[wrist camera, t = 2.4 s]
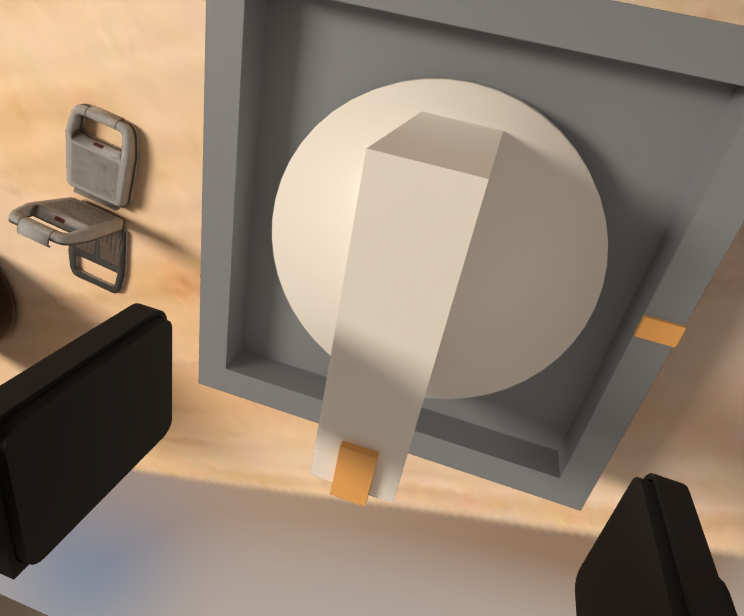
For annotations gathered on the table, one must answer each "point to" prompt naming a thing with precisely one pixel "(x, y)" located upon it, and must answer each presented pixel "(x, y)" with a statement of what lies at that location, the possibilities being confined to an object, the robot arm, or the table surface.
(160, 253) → the table surface
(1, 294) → the supplement bottle
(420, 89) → the dial
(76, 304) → the table surface
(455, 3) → the dial plate
